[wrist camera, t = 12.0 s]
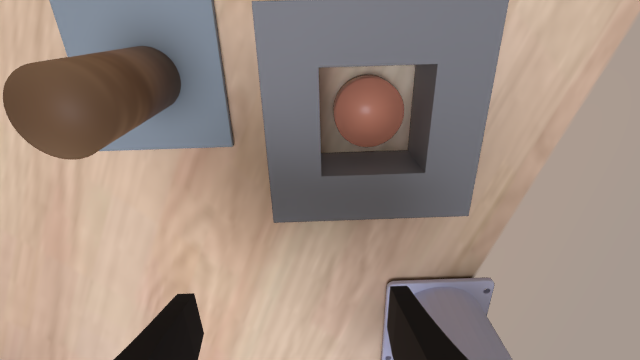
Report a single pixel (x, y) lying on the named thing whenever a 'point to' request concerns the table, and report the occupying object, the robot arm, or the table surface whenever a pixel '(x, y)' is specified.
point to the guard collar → (426, 116)
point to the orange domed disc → (368, 111)
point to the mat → (174, 41)
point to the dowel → (89, 98)
